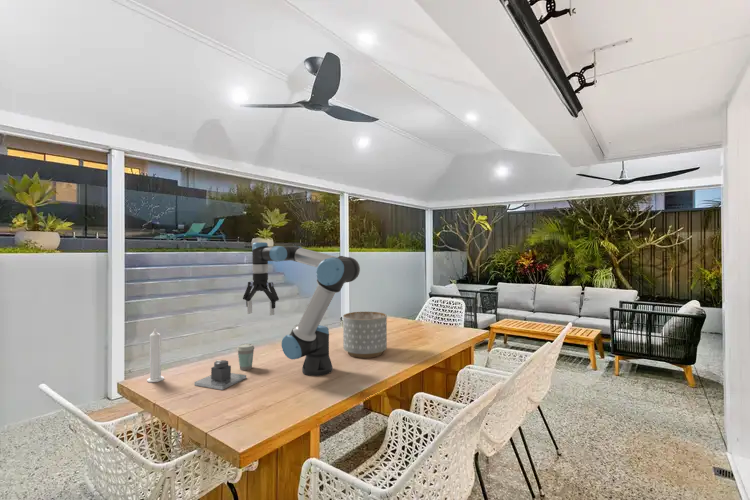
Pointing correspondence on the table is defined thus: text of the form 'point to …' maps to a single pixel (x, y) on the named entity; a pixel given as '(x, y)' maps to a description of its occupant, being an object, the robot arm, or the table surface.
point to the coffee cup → (245, 356)
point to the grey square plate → (220, 384)
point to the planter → (365, 334)
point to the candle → (155, 357)
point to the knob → (220, 370)
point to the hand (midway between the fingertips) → (260, 314)
